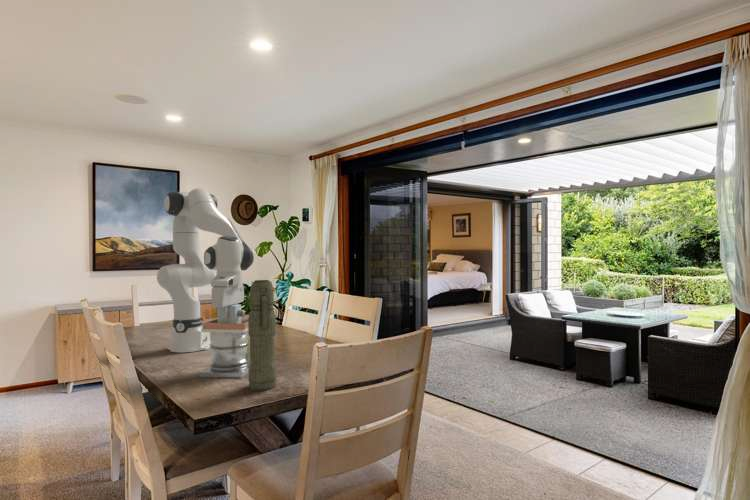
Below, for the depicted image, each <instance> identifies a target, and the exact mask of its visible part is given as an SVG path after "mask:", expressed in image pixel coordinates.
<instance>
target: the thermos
mask: <svg viewBox="0 0 750 500" xmlns="http://www.w3.org/2000/svg"><path fill="white" fill-rule="evenodd" d="M274 290H275V289H274V286H273V283H272V281H270V280H269V279H256V280H254V281H252V282H251V286H250V289H249V305H250V309H249V311H250V312H249V315H248V337H249V355H250V356H249V357H250V358H249V362H250V365H249V373H248V381H249V386H248V388H249V389H250V390H251V391H259V392H260V391H268V390H272V389H275V388H277V387H276V386H277V381H276V380H277V364H276V362H275V358H276V357H275V349H276V348H275V347H276V346H275V335H276V332H277V322H276V321H277V317H276V313H275V309H274V304H275V299H274V298H275V295H274V293H275V291H274Z"/></svg>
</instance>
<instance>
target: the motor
mask: <svg viewBox="0 0 750 500" xmlns="http://www.w3.org/2000/svg"><path fill="white" fill-rule="evenodd" d="M201 332H209V333H210V341H211V344H210V348H209V349H210V360H211V362H210V363H211V364H210V365H209V366H208V367H205V368H204V369H201V371H199V372H198V378H199V377H200V378H202V377H203V378H234V379H235V378H236V379H237V378H238V379H242V378H243V377H245V376H246V375H249V365H250V361H249V346H250V340H249V334H248V319H247V318H241V323H217V318H214V319H211V320H208V321H204V322H202V329H201Z"/></svg>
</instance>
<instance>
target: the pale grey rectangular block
mask: <svg viewBox="0 0 750 500" xmlns="http://www.w3.org/2000/svg"><path fill="white" fill-rule="evenodd" d="M216 309H217V311H216V312H217V314H216V315H217V316H216V317H217V318H216V319H217V323H241V319H242V317H245V316H246V311H245V310H244V309H242V304H240V303H238V304H233V305H230V306H228V309H227V312H228V313H229V317H228V318H227V319H223V318H222V312H221V308H216Z"/></svg>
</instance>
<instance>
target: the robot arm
mask: <svg viewBox="0 0 750 500" xmlns="http://www.w3.org/2000/svg"><path fill="white" fill-rule="evenodd" d="M163 207H164V209H165V212H166V213H167V214H168V215H169V216H173V223H172V250H173V251H174V252H175V253H176V254H177V255H178V256H180V257H182V258H183V260H184V263H171V264H167V265H163V266H161V267H160V268H159V270H158V271H157V273H156V281H157V283H158V285H159V287H160V288H162V289H164V290H166V292H167V293H168V294H169V296H170V297H171V300H172V301H171V302H172V304H173V307H172V308H173V319H172V327H173V328H172V329H171V331H170V337H169V346H167V350H168V351H170V352H172V353H193V352H199V351H208V350H209V349H211V348H210V344H211V332H201V329H202V323H203V322H205V319H206V318H205V317H204V316H203V317H202V316H201V302H200V300H199V299H198V298H197V297H196V296H194V295H192V294H191V292H190V288H201V287H206V286H208V285H210V287H212V288H211V305H212V307H213V308H215V309H217V308H221V312H222V318H223V319H227V318H228V317H229V313H228V312H227V309H228V306H230V305H233V304H240V303H243V302H244V301H245V287H244V284H243V283H242V271H243V272H245V271H247V270H248V269H249V268H250V267H251V266H252V265H253V263H254V259H255V257H254V254H253V253H254V252H253V251H252V249H251V248H250V246H248V244H247V243H246V242H245V241H244V240H243V237H242V236H241V234H240V232H239V231H238V229H237V228H236V227H235V225H234V223H233V222H232V221H231V219H229V218H228V217H226V216H225V215H224V214H222V212H221V211H220V210H219V209H218V199H217V198H216V196H215V195H214V194H211V193H210V192H209V191H207V190H206V189H204V188H201V187H199V188H198V187H197V188H194V189H192V190H191V191H170V192H168V193H167V194H166V195H165V198H164V203H163ZM200 230H201V231H204V232H208V233H212V234H216V235H220V237H218V239H217V241H216V243H215V244H213V245H211V246H209V247H208V248H206V250H205V251H204V253H203V255H202V252H201V246H200V245H201V243H200ZM215 271H216V274H215Z"/></svg>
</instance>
